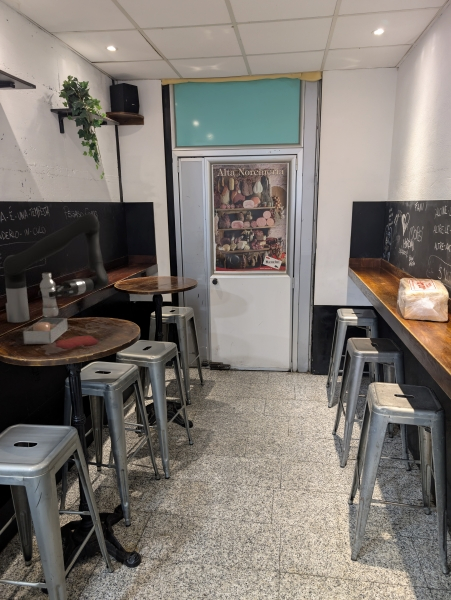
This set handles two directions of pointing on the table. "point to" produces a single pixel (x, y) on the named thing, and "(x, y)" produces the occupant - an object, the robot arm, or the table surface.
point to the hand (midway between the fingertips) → (44, 294)
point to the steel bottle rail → (46, 337)
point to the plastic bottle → (48, 302)
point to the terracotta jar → (41, 326)
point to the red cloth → (76, 342)
